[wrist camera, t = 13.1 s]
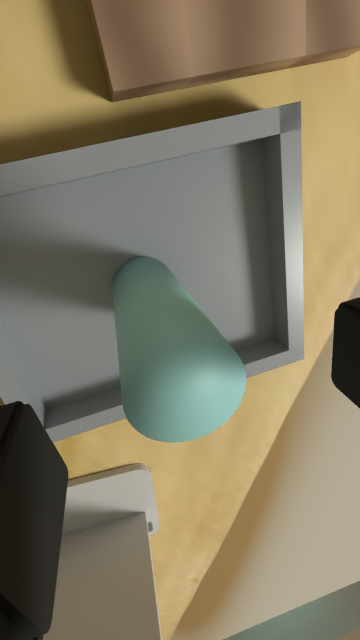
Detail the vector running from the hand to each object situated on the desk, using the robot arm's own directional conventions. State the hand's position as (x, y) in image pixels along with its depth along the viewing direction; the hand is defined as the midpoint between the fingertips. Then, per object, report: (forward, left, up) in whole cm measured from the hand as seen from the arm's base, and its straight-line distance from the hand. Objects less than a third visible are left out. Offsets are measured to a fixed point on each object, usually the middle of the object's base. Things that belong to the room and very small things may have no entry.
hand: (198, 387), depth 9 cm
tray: (0, 0, -12) cm, 12 cm away
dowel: (0, 0, -11) cm, 11 cm away
